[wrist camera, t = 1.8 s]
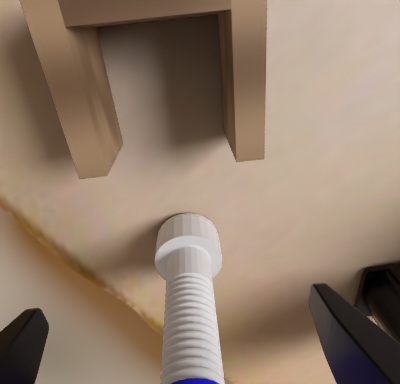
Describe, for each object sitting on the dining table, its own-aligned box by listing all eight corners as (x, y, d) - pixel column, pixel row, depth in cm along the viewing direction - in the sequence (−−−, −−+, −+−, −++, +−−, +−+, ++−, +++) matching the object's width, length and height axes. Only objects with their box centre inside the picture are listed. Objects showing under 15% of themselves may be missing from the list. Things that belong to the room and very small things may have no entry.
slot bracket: (246, 130, 20) (264, 159, 16) (101, 146, 20) (79, 178, 16) (243, -22, 16) (267, -40, 11) (60, -2, 16) (15, -13, 11)
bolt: (194, 267, 26) (146, 242, 24) (229, 229, 24) (179, 200, 22) (209, 530, 12) (101, 515, 11) (293, 490, 10) (177, 464, 9)
